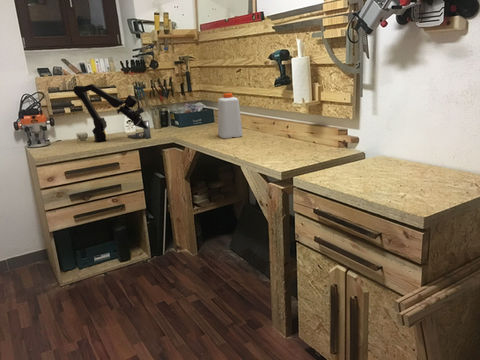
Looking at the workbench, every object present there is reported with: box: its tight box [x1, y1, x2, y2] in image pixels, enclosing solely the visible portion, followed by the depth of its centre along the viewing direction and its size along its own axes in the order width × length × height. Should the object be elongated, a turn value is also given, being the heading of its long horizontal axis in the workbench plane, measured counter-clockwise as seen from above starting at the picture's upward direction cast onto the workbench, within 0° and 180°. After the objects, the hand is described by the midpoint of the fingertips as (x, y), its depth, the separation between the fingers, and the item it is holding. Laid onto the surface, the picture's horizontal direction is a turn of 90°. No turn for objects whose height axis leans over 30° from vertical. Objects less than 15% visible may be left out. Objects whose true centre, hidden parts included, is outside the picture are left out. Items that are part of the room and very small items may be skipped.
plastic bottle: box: [217, 92, 244, 139], centre depth 261 cm, size 15×15×28 cm
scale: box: [126, 131, 145, 140], centre depth 278 cm, size 11×13×4 cm
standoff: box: [142, 119, 152, 140], centre depth 270 cm, size 4×4×12 cm
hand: (147, 127), depth 270 cm, fingers open, 9 cm apart
